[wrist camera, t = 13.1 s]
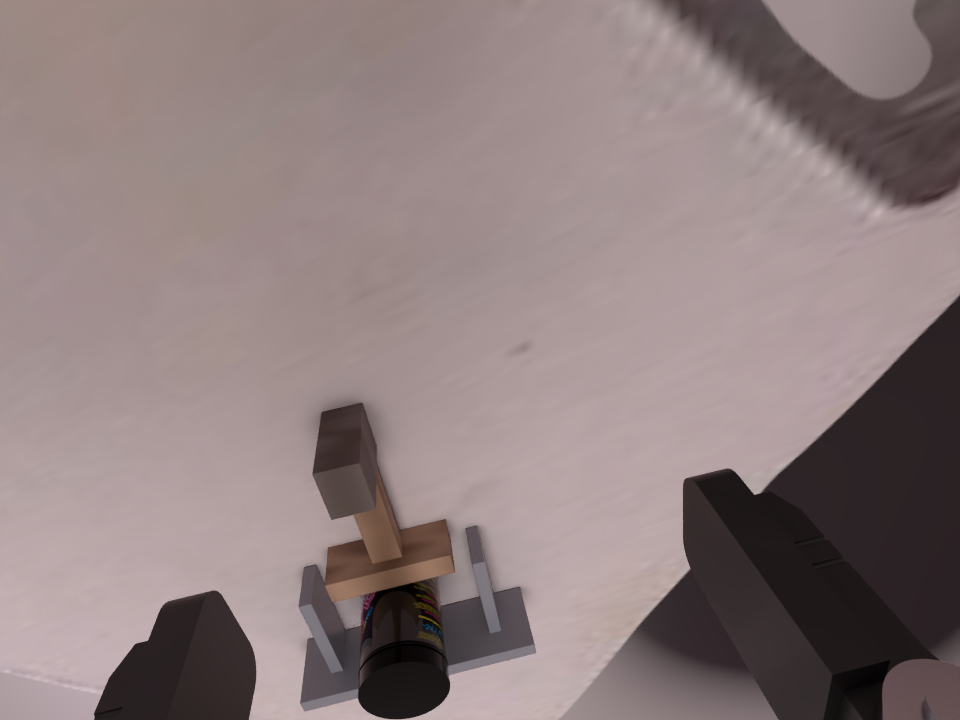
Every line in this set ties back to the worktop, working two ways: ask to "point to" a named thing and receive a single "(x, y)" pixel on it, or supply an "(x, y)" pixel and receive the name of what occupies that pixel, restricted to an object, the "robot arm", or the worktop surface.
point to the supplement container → (402, 651)
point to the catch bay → (467, 628)
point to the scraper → (369, 515)
